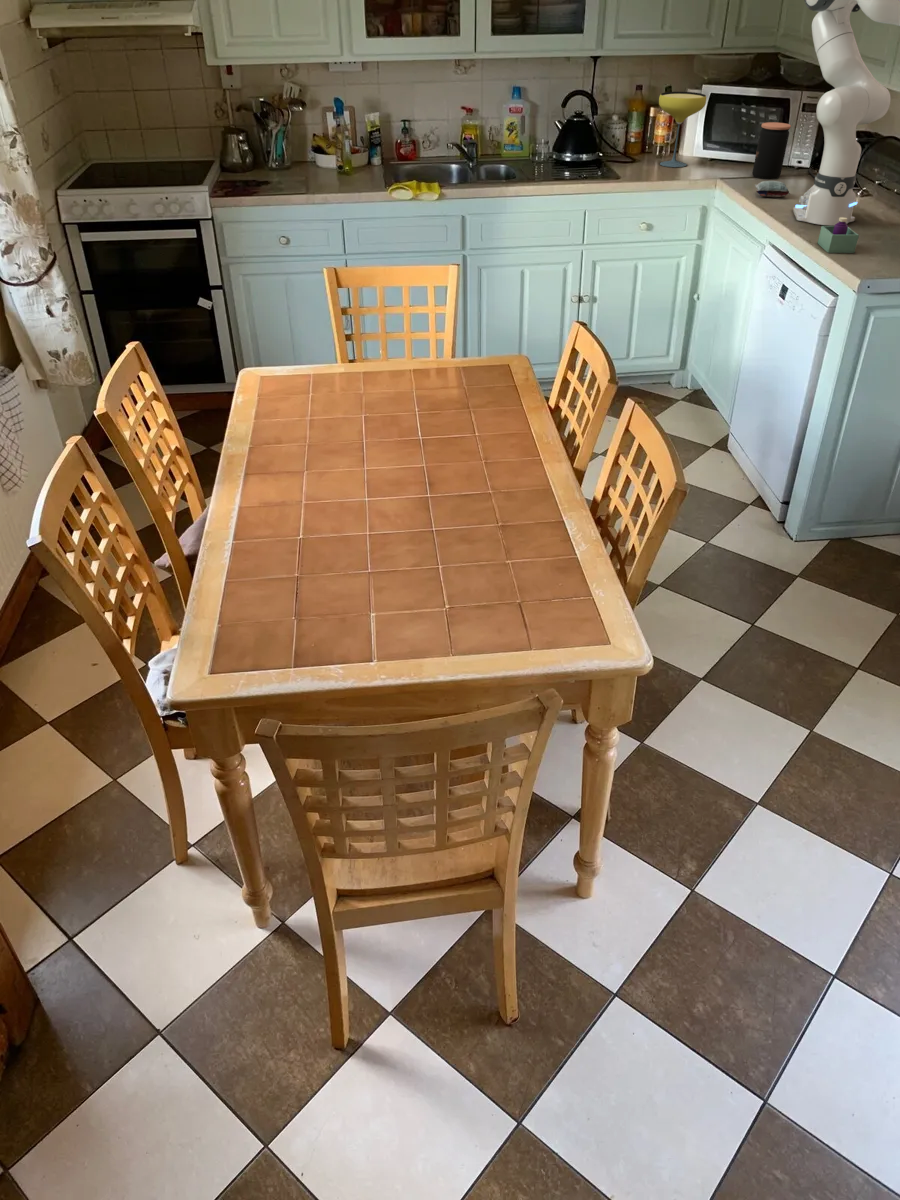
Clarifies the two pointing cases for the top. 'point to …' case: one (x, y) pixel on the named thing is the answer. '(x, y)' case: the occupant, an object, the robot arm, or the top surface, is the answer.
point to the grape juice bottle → (840, 227)
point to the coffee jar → (771, 150)
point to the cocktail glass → (680, 113)
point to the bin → (837, 240)
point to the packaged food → (772, 189)
